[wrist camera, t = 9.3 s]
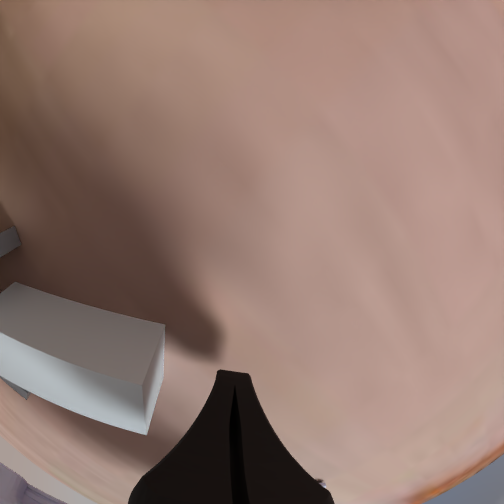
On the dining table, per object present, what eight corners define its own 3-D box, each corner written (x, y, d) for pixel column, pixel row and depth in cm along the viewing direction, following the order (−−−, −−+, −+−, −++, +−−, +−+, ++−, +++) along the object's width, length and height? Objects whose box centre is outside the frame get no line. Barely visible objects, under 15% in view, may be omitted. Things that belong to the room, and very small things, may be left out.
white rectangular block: (166, 322, 12) (142, 385, 9) (164, 374, 14) (146, 435, 10) (16, 280, 12) (-28, 316, 8) (27, 331, 13) (-7, 371, 9)
